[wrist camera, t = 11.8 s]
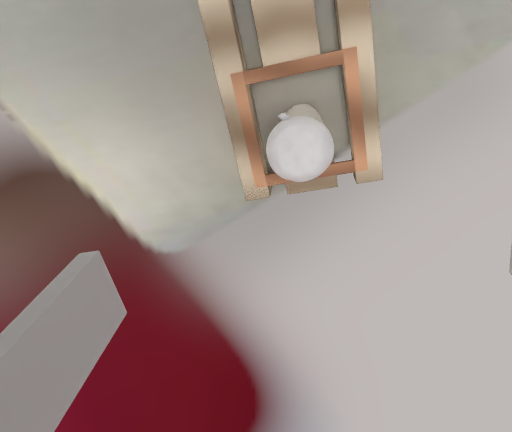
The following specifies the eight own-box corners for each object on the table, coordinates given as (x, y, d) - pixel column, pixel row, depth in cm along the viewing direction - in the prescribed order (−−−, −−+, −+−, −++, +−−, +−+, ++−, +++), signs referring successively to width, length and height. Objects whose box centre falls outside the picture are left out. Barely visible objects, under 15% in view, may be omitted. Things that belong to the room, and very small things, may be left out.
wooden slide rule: (155, -203, 24) (142, -224, 22) (343, -274, 22) (347, -304, 20) (248, 192, 36) (245, 202, 34) (378, 171, 34) (383, 181, 32)
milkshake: (314, 76, 31) (316, 98, 22) (335, 136, 33) (345, 179, 24) (263, 98, 32) (246, 127, 23) (286, 155, 34) (279, 201, 25)
